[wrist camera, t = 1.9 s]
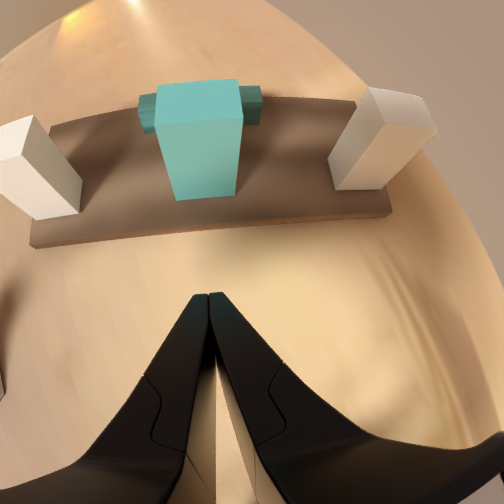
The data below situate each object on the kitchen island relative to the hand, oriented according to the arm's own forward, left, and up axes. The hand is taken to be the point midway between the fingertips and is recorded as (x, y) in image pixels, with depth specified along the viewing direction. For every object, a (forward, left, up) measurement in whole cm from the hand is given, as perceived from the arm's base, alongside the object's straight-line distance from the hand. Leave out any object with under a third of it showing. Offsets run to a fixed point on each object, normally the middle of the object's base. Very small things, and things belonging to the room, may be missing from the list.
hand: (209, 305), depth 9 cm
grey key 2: (-3, +16, -12) cm, 20 cm away
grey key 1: (+16, 0, -12) cm, 20 cm away
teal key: (+7, +8, -12) cm, 16 cm away
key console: (+9, +10, -13) cm, 19 cm away
